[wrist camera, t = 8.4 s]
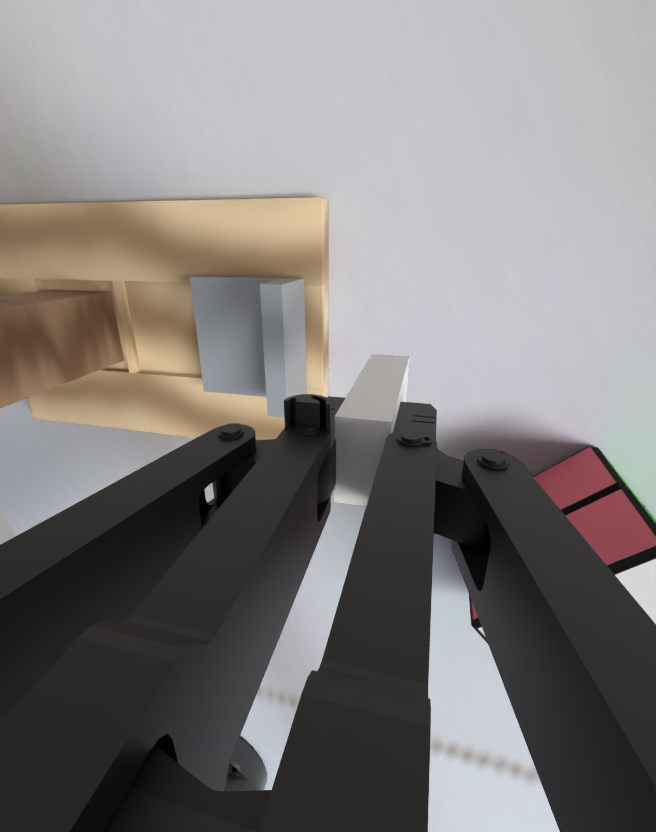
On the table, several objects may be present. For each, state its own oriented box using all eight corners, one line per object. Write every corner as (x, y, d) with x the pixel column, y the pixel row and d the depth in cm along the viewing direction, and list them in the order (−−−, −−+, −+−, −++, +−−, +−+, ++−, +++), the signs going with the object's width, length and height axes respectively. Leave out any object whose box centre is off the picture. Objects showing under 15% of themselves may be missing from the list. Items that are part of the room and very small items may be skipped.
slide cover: (306, 395, 28) (287, 417, 24) (211, 386, 29) (179, 407, 26) (304, 278, 25) (281, 284, 21) (198, 275, 26) (160, 281, 23)
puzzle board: (328, 442, 31) (322, 452, 30) (49, 411, 36) (33, 418, 35) (328, 199, 25) (321, 197, 23) (-8, 206, 30) (-30, 205, 29)
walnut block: (124, 360, 31) (-21, 416, 22) (68, 356, 32) (-93, 407, 23) (110, 291, 29) (-55, 317, 20) (52, 289, 31) (-133, 313, 21)
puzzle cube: (459, 514, 31) (467, 626, 22) (593, 441, 26) (672, 544, 18) (540, 606, 32) (579, 748, 23) (680, 551, 28) (794, 698, 19)
